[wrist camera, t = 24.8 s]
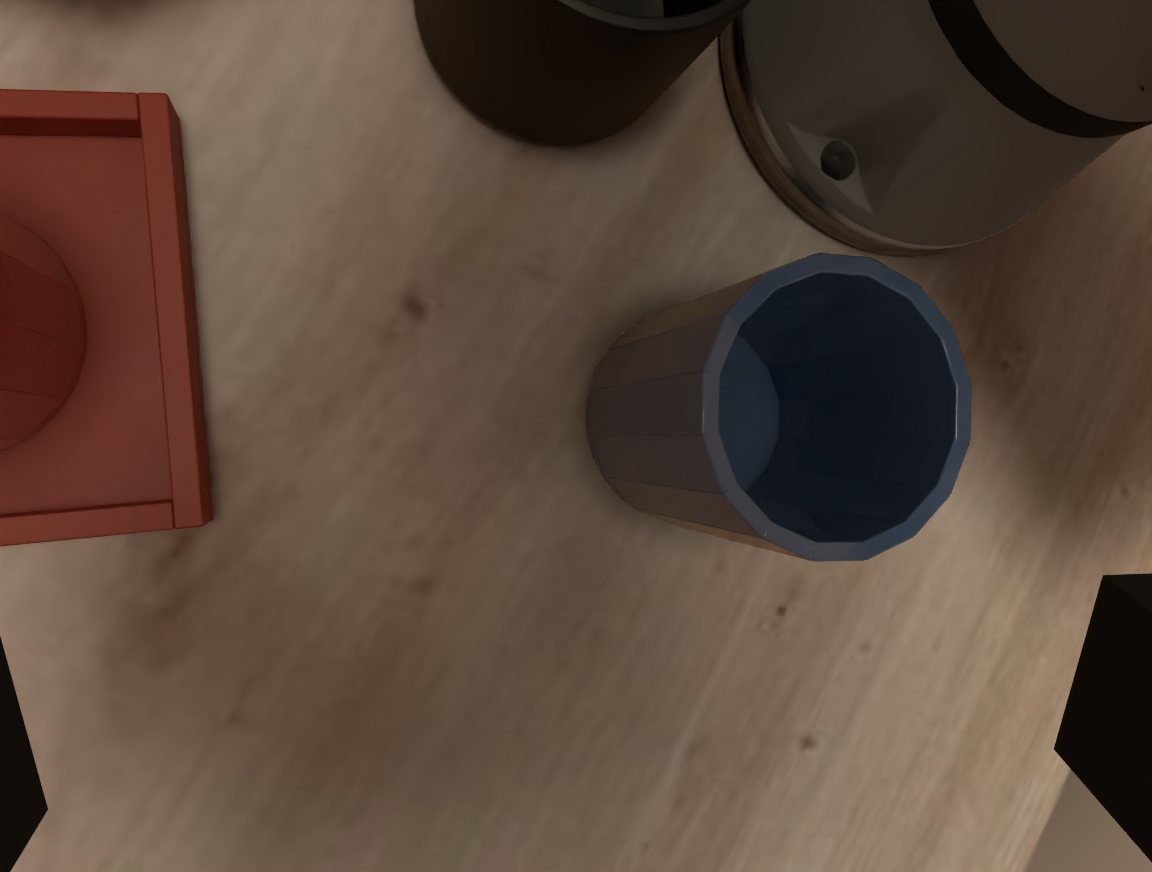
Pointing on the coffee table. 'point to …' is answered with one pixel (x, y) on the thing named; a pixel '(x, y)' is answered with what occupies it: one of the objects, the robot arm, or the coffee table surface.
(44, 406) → the red cup
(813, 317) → the blue cup
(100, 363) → the red tray
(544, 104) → the mug
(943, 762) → the coffee table surface
